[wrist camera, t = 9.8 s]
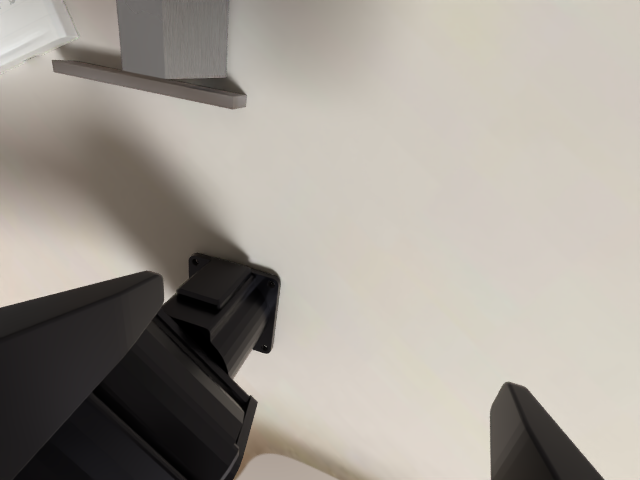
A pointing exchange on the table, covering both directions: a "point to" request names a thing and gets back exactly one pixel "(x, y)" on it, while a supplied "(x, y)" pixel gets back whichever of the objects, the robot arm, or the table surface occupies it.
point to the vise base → (151, 84)
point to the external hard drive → (32, 30)
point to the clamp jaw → (174, 37)
